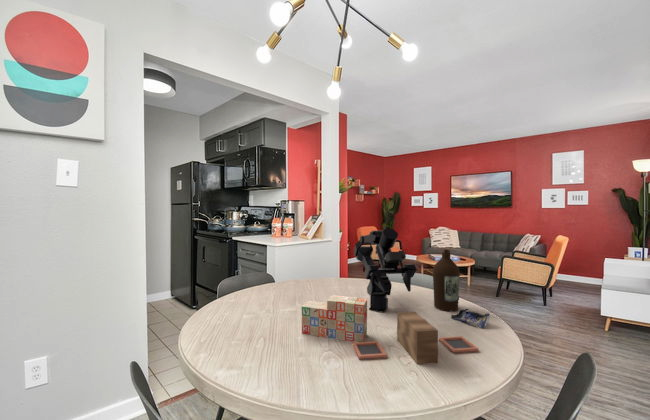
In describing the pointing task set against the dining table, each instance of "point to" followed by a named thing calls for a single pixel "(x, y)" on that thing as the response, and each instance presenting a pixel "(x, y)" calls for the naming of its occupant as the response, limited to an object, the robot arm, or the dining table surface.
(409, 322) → the walnut brick
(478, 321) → the snack package
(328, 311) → the stack of blocks
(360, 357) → the tile
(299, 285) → the dining table surface
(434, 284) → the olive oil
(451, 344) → the tile
